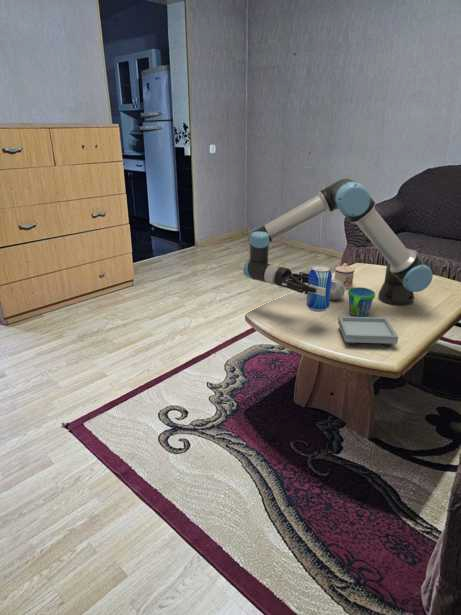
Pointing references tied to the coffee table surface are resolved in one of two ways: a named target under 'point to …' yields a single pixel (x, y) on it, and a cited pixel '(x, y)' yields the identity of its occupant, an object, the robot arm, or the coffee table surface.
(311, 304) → the beer can
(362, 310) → the snack cup
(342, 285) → the potion bottle
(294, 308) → the coffee table surface
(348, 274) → the teacup with lid
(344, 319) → the grey rimmed tray
